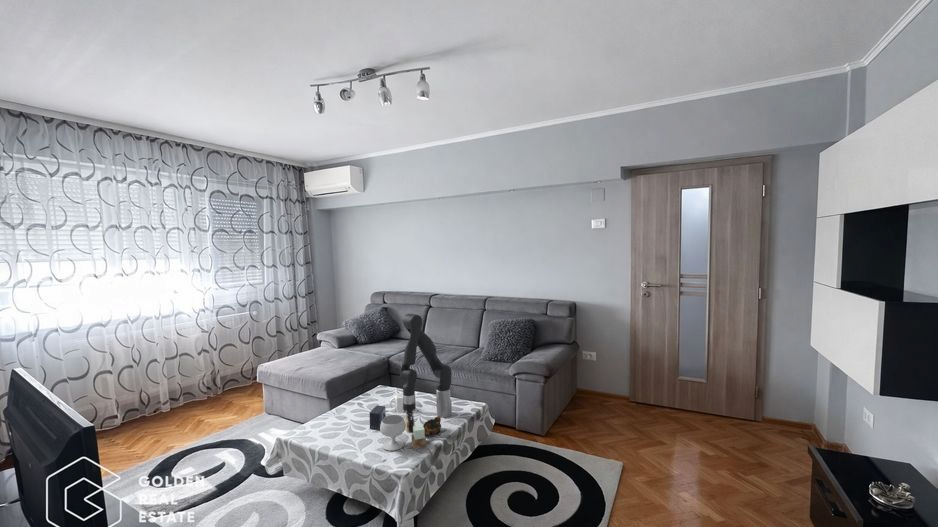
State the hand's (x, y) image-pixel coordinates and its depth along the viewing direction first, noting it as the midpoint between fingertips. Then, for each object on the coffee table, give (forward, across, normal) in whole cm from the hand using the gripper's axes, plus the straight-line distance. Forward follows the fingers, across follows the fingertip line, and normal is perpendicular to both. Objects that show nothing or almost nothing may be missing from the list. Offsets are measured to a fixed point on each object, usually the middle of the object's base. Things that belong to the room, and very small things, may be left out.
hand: (410, 428), depth 233 cm
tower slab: (+1, -19, -2) cm, 19 cm away
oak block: (+1, 0, 0) cm, 1 cm away
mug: (+1, +29, +3) cm, 29 cm away
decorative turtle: (+1, -9, -12) cm, 15 cm away
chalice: (+1, -15, +12) cm, 19 cm away
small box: (+1, +12, +18) cm, 22 cm away
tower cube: (-4, -19, -2) cm, 20 cm away
